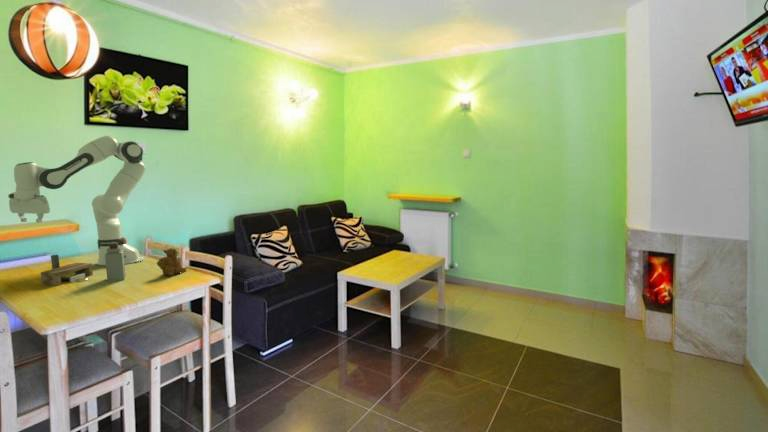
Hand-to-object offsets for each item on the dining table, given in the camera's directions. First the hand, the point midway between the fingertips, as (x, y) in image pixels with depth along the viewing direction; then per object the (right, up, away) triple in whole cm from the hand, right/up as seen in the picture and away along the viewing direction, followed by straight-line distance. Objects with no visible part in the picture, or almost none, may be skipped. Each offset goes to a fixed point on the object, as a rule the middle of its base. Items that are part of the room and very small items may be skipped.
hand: (31, 222), depth 197 cm
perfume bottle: (+46, -28, -4) cm, 54 cm away
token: (+31, -29, -7) cm, 43 cm away
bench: (+23, -28, -5) cm, 37 cm away
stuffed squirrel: (+68, -27, +5) cm, 74 cm away
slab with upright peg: (+22, -28, -5) cm, 36 cm away
